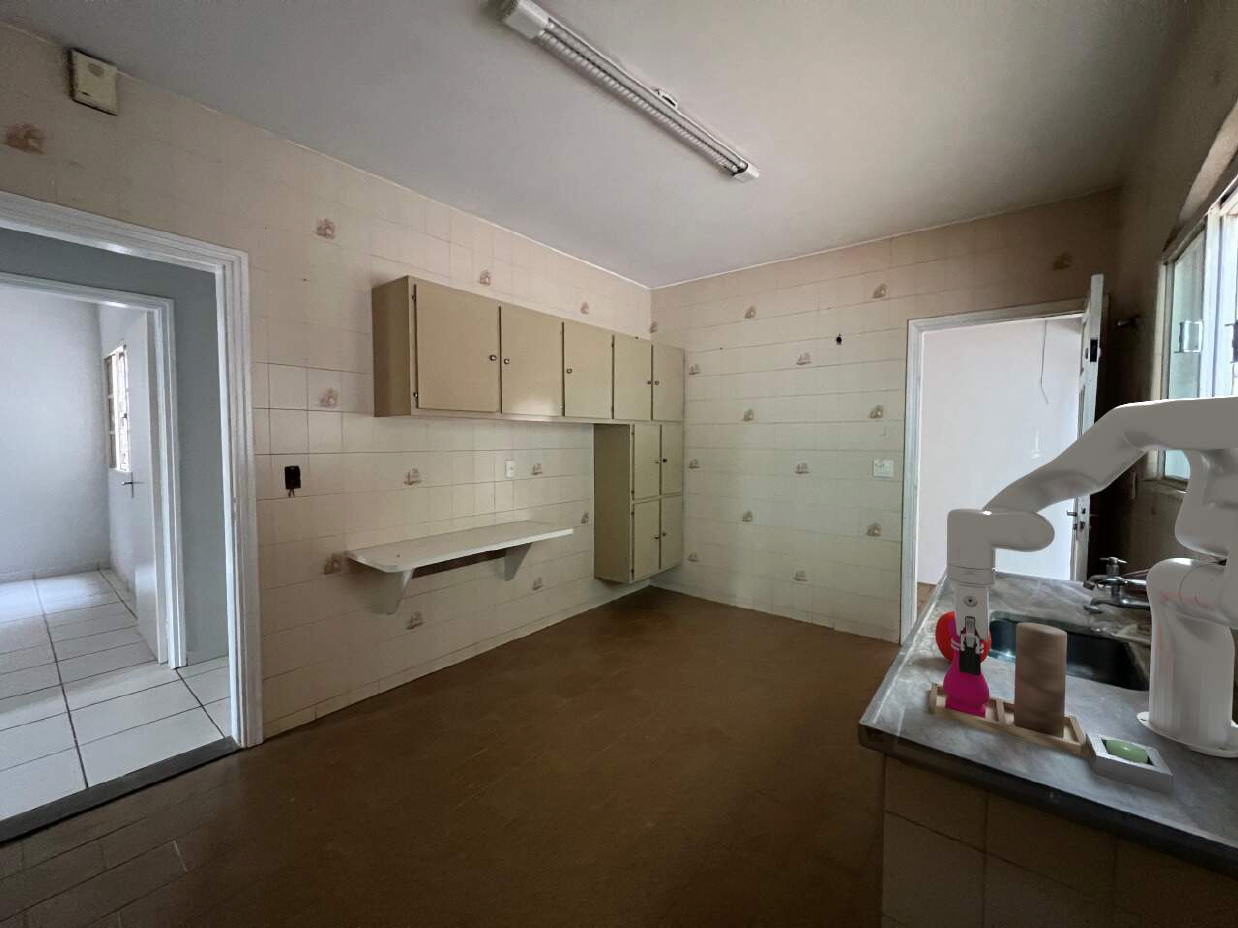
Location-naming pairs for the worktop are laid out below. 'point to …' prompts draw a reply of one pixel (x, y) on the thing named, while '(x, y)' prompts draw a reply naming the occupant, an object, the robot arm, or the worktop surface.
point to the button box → (1130, 766)
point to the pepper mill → (964, 681)
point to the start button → (1126, 751)
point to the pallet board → (1010, 723)
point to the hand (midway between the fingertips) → (969, 663)
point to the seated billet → (1040, 678)
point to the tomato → (945, 637)
